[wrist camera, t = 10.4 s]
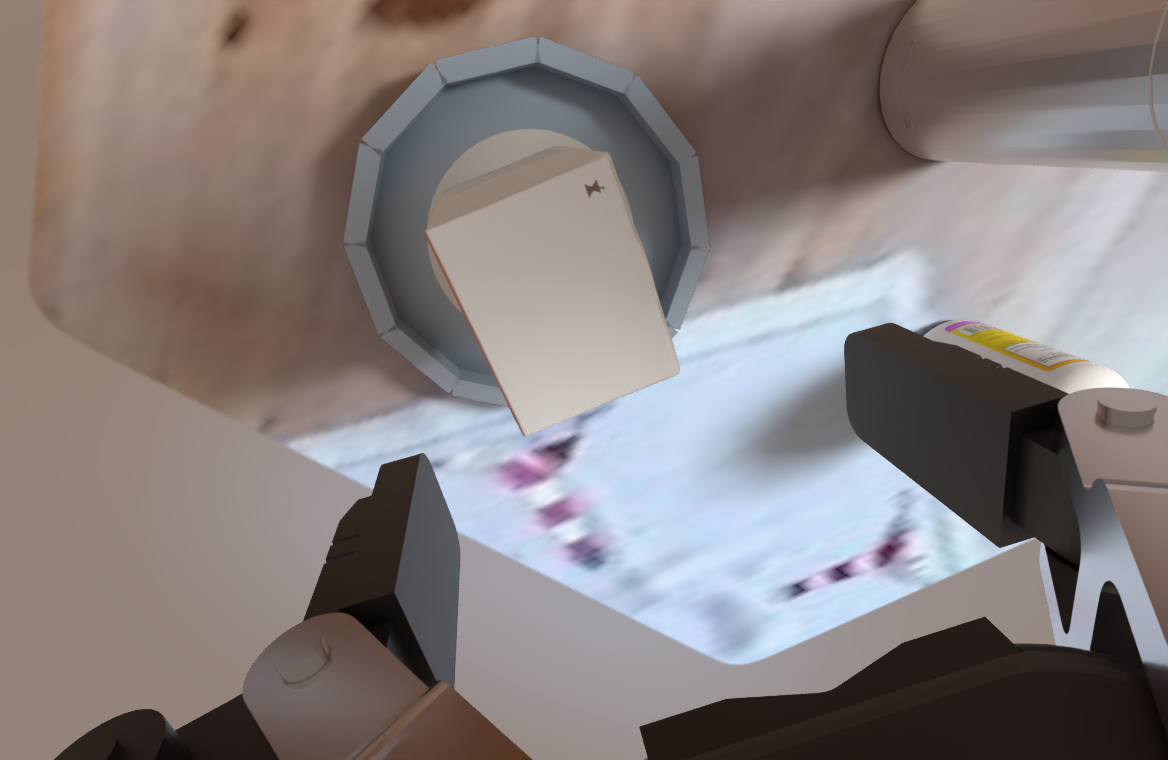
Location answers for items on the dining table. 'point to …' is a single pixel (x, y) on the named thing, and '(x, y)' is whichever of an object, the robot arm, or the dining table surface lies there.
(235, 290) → the dining table surface
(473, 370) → the grey shallow round dish
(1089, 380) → the supplement bottle
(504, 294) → the small box
